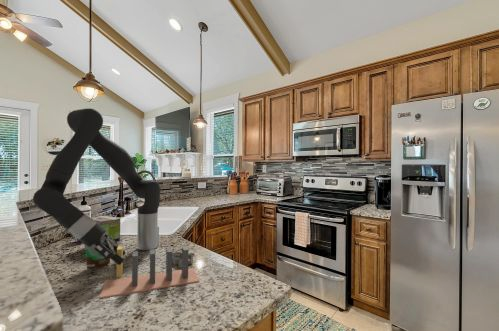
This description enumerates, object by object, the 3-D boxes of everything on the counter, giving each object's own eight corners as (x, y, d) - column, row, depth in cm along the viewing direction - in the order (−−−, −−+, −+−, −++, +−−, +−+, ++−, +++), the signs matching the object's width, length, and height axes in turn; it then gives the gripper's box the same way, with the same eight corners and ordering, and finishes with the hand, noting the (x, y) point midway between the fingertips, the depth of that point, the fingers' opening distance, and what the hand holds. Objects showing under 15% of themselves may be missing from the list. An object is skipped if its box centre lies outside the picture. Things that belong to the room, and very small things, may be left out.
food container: (97, 271, 96) (97, 245, 96) (83, 270, 97) (84, 244, 97) (120, 259, 108) (120, 236, 108) (107, 258, 109) (108, 235, 109)
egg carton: (195, 263, 105) (195, 253, 105) (180, 268, 100) (180, 258, 100) (180, 257, 112) (180, 248, 112) (165, 261, 107) (165, 252, 107)
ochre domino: (116, 277, 91) (116, 249, 91) (117, 272, 95) (118, 245, 95) (121, 276, 91) (121, 249, 91) (122, 271, 96) (122, 245, 96)
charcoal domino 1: (132, 287, 83) (132, 256, 83) (132, 280, 87) (132, 251, 87) (137, 286, 83) (137, 255, 83) (137, 279, 88) (137, 251, 88)
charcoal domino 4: (183, 278, 89) (183, 250, 89) (181, 273, 94) (181, 246, 94) (188, 278, 90) (188, 249, 90) (186, 272, 94) (186, 245, 94)
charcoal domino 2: (150, 284, 85) (150, 254, 85) (149, 278, 89) (150, 249, 90) (155, 283, 85) (155, 253, 86) (154, 277, 90) (154, 249, 90)
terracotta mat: (99, 298, 76) (99, 297, 76) (105, 281, 87) (105, 280, 87) (199, 281, 88) (199, 280, 88) (193, 268, 99) (193, 267, 99)
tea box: (120, 248, 124) (121, 217, 124) (99, 253, 116) (100, 221, 116) (104, 243, 132) (104, 214, 133) (83, 248, 124) (84, 217, 124)
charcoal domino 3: (167, 281, 87) (167, 252, 87) (166, 275, 92) (166, 248, 92) (172, 280, 88) (172, 251, 88) (170, 275, 92) (170, 247, 92)
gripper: (92, 226, 84) (129, 256, 88) (99, 218, 97) (131, 245, 101) (72, 244, 82) (112, 274, 86) (82, 233, 95) (116, 260, 99)
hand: (122, 258), depth 94 cm, fingers open, 8 cm apart
